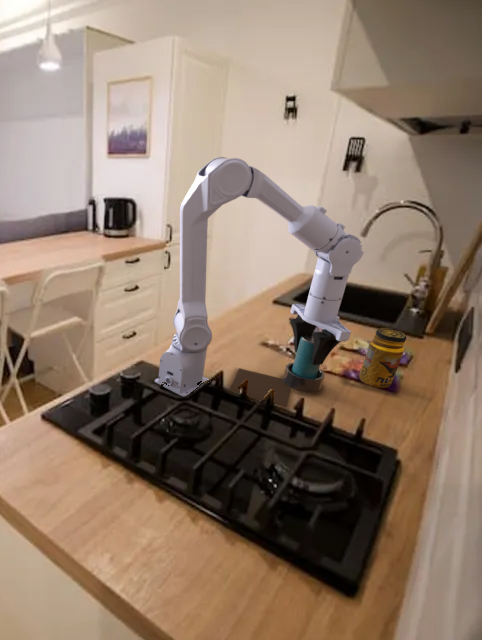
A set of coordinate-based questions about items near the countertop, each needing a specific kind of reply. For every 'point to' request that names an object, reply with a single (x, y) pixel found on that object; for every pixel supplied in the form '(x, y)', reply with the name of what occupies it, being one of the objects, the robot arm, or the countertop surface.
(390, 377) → the condiment
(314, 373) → the can
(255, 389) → the coaster
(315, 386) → the ring
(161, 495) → the countertop surface
